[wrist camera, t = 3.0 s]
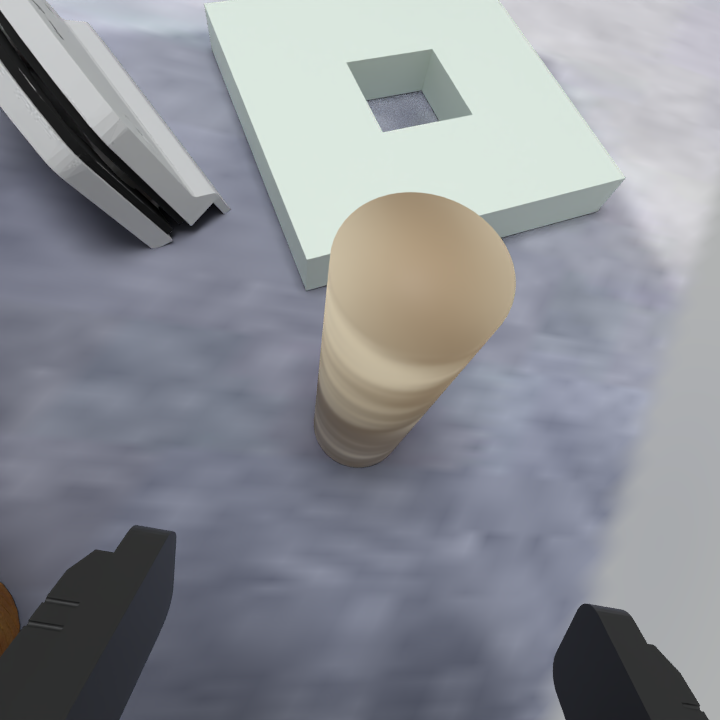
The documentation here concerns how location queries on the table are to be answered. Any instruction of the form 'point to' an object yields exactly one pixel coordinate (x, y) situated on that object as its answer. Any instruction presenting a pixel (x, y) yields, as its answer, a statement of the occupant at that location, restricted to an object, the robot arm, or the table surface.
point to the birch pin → (403, 317)
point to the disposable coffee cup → (7, 619)
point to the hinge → (96, 123)
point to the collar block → (408, 145)
